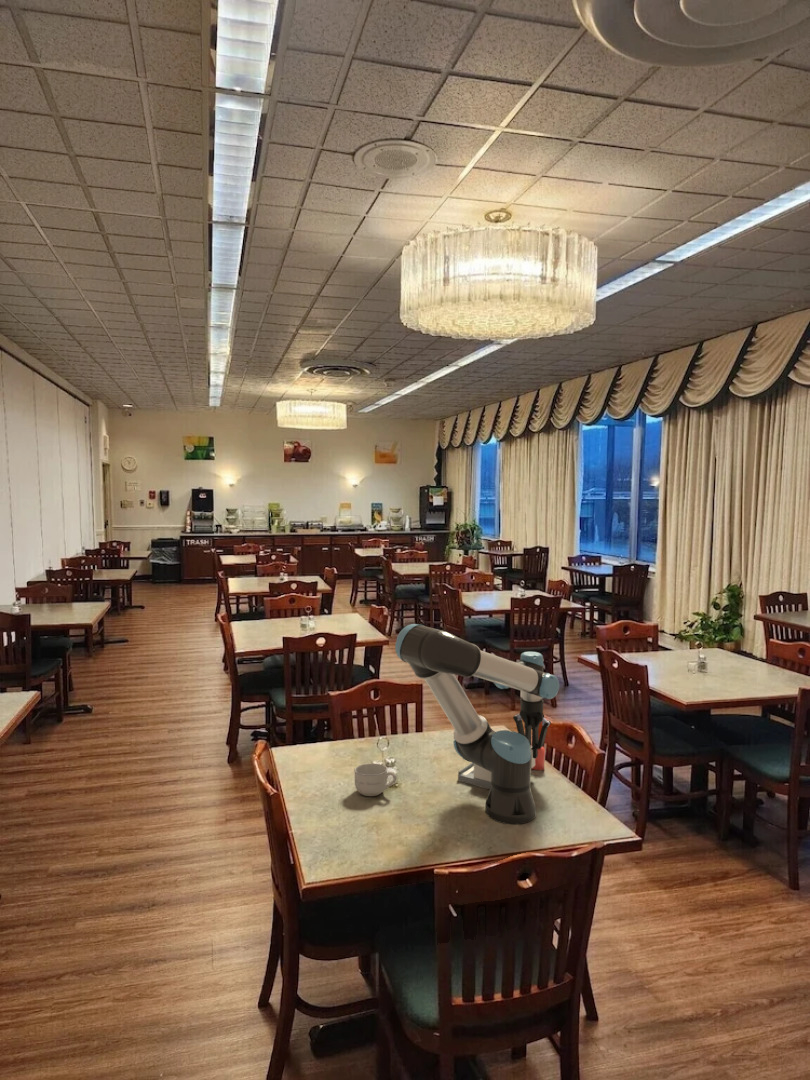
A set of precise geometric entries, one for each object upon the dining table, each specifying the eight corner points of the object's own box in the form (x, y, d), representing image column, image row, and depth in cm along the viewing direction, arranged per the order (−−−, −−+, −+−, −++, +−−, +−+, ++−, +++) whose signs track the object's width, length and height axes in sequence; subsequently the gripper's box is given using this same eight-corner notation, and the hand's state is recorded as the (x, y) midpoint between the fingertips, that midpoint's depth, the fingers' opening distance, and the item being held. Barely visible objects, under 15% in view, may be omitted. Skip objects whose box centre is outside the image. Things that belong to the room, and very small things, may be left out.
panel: (531, 765, 233) (531, 757, 233) (498, 791, 212) (498, 782, 212) (493, 755, 242) (493, 748, 242) (458, 780, 221) (458, 771, 220)
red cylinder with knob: (546, 766, 232) (547, 744, 231) (541, 771, 228) (541, 748, 227) (533, 763, 235) (534, 741, 234) (528, 768, 231) (528, 745, 230)
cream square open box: (510, 774, 220) (510, 755, 220) (498, 784, 213) (498, 764, 212) (486, 768, 225) (486, 749, 225) (473, 777, 218) (474, 758, 218)
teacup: (347, 795, 209) (347, 771, 209) (365, 782, 219) (365, 759, 218) (385, 804, 203) (385, 779, 202) (402, 791, 212) (402, 767, 212)
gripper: (554, 698, 220) (554, 767, 221) (518, 692, 227) (518, 758, 229) (545, 704, 214) (545, 774, 215) (509, 697, 221) (509, 765, 223)
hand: (531, 766), depth 222 cm, fingers closed
